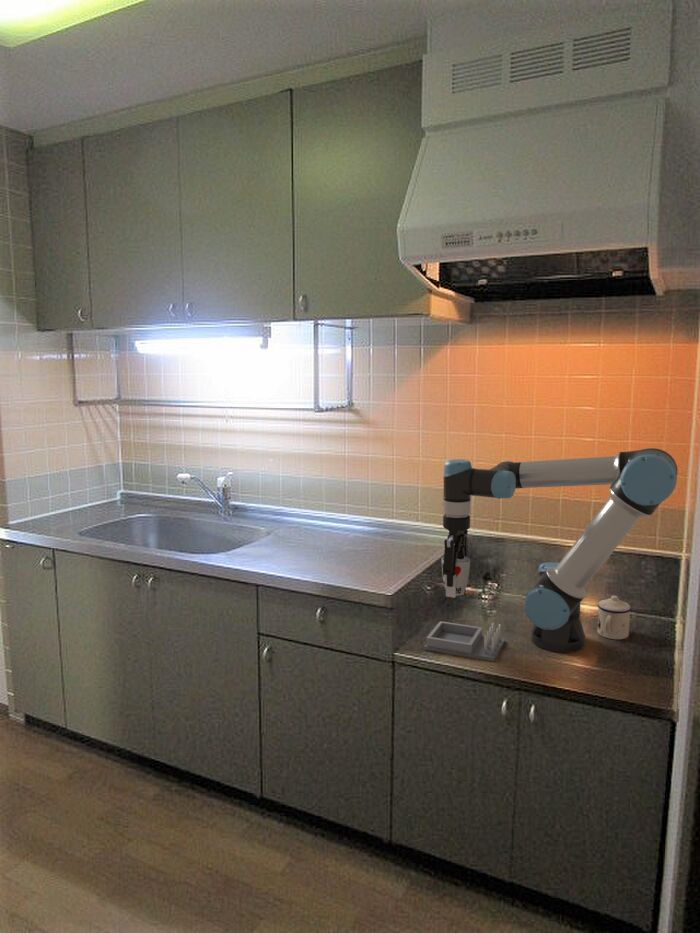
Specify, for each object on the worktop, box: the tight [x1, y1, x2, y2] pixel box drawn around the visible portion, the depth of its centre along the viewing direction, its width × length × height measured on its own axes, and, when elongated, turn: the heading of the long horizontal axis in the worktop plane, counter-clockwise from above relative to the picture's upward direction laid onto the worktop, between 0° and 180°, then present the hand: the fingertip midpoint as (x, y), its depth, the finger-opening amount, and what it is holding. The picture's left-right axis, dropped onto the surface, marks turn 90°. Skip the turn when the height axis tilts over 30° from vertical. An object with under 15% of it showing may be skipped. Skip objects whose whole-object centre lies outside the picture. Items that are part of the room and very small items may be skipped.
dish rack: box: [423, 621, 506, 662], centre depth 189 cm, size 20×14×6 cm
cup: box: [441, 556, 471, 597], centre depth 188 cm, size 8×8×10 cm
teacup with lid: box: [597, 595, 632, 640], centre depth 193 cm, size 12×9×12 cm
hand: (455, 591), depth 189 cm, fingers closed on cup, 8 cm apart
